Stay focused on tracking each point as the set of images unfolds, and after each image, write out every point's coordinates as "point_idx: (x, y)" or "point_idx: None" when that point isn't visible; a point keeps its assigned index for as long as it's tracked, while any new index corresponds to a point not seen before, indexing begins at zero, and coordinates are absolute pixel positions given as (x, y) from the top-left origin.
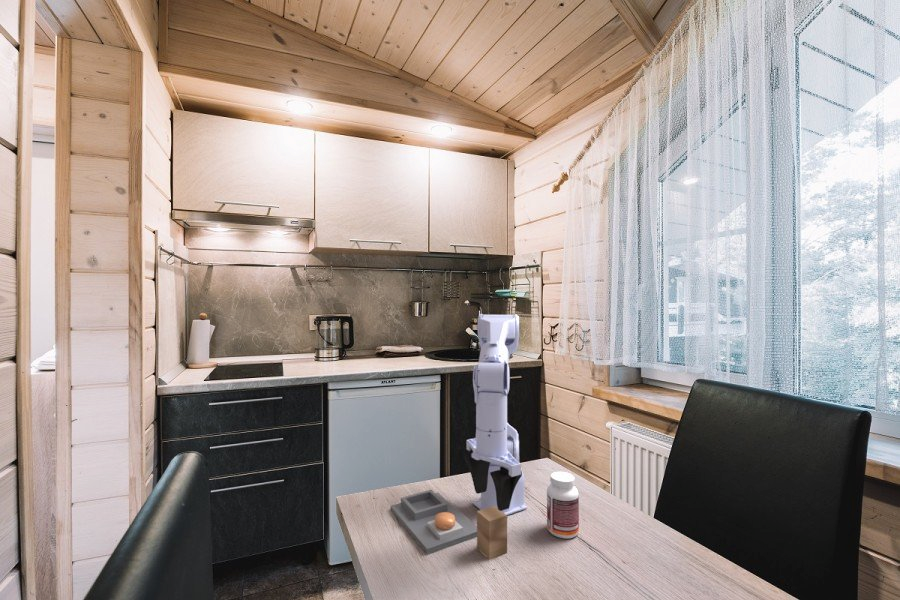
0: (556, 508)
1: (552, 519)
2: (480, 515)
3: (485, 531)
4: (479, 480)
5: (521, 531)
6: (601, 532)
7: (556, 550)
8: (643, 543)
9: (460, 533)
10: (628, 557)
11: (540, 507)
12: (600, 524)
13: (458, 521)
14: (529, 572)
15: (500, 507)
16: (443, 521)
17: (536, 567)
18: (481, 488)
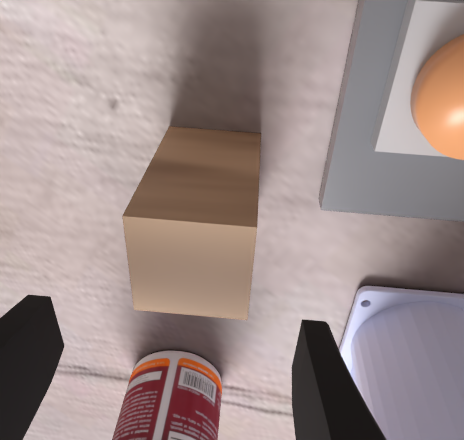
0: (137, 437)
1: (162, 393)
2: (217, 218)
3: (178, 179)
4: (311, 422)
5: None
6: None
7: (111, 313)
8: (54, 436)
9: (367, 124)
10: None
11: None
12: None
13: (450, 174)
14: (49, 193)
15: (10, 312)
16: (461, 70)
17: (63, 225)
18: (298, 369)
